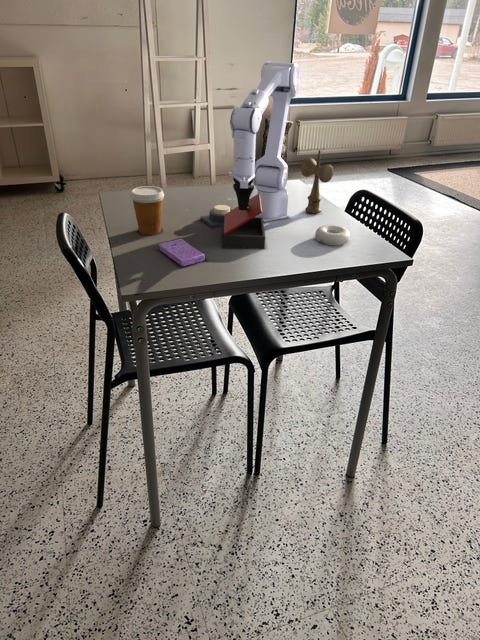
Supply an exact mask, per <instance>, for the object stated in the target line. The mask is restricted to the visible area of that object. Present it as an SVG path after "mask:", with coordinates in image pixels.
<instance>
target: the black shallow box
mask: <svg viewBox="0 0 480 640" xmlns="http://www.w3.org/2000/svg"><path fill="white" fill-rule="evenodd" d="M265 244H266V232H265V224H264V222H263V217H254V218H252V219H251V220H249V221H247V222H246V223H244V224H243V225H241V226H239V227H238V228H236V229H234V230H233V231H231V232H229V233H228V234H226V235H224V234H223V248H224V249H248V250H249V249H250V250H251V249H253V250H265V246H266V245H265Z"/></svg>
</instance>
